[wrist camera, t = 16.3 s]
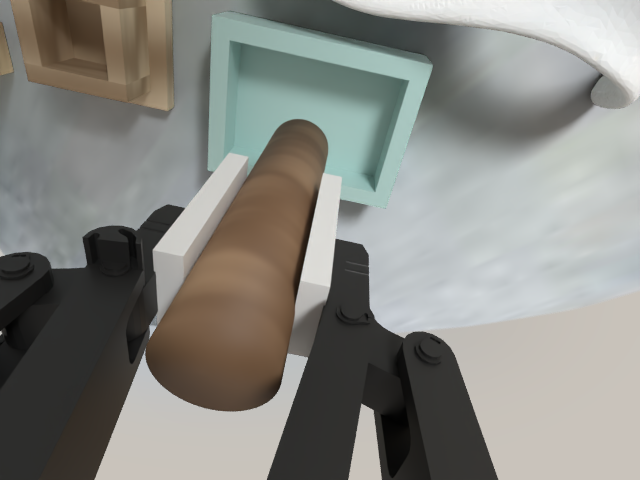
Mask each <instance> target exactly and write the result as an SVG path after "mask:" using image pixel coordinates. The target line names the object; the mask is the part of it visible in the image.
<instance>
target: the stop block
mask: <svg viewBox="0 0 640 480" xmlns="http://www.w3.org/2000/svg"><path fill="white" fill-rule="evenodd" d="M12 72H14V70H13V66H12V62H11V58H10V54H9V50H8V46H7V41H6V37H5V33H4V29H3V25H2V22H0V75H4V74H8V73H12Z"/></svg>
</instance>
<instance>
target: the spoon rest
mask: <svg viewBox="0 0 640 480" xmlns="http://www.w3.org/2000/svg"><path fill="white" fill-rule="evenodd" d="M332 1H334V2H336V3H338V4H341V5H343V6H346V7H348V8H351V9H354V10H357V11H360V12H363V13H367V14H371V15H375V16H380V17H385V18H393V19H402V20H410V21H418V22H430V23H440V24H450V25H461V26H468V27H476V28H483V29H491V30H498V31H505V32H508V33H514V34H517V35H521V36H525V37H529V38H533V39H536V40H540V41H543V42H546V43H549V44H551V45H554V46H557V47H559V48H561V49H563V50H566V51H568V52H569V53H571V54H573V55H575V56H577V57H578V58H580V59H581V60H583V61H584V62H586V63H587V64H589V65H590V66H592V67H593V68H595V69H596V70H597V71H599V72H600V73H601V74H603V76H602V77H601V78H600V79H599V81H598V82H597V83H596V85H595V86H594V88H593V89H592V91H591V100H592V102H593V103H594V104H595V105H597V106H600V107H603V108H608V109H620V108H624V107H626V106H628V105H630V104H632V103H633V102H634V101H635V100H636V99H637V98H638V97H639V96H640V0H332Z"/></svg>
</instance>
